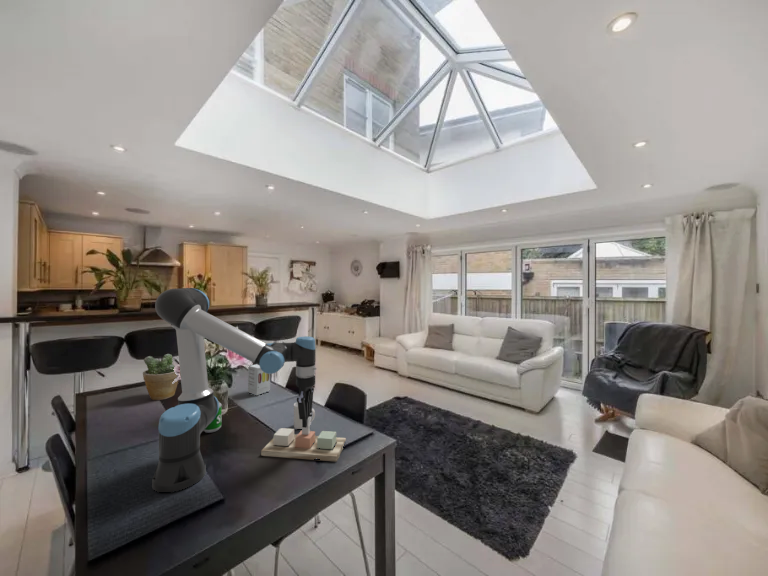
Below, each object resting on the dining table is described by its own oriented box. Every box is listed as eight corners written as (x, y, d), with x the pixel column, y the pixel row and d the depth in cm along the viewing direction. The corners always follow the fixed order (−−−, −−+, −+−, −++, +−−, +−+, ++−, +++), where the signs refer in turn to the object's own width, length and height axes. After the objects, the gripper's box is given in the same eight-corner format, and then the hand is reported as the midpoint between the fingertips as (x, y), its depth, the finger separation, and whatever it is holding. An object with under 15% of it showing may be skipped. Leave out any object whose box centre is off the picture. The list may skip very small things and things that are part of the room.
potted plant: (162, 390, 191) (162, 350, 191) (189, 392, 188) (189, 351, 188) (134, 401, 173) (134, 357, 173) (163, 403, 170) (163, 358, 170)
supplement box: (256, 396, 182) (256, 368, 181) (247, 393, 187) (247, 365, 186) (270, 392, 190) (270, 364, 189) (261, 389, 195) (261, 362, 195)
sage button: (332, 449, 120) (332, 439, 120) (317, 448, 121) (317, 438, 120) (336, 441, 126) (336, 431, 126) (322, 440, 126) (322, 430, 126)
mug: (290, 426, 143) (290, 404, 143) (303, 420, 150) (303, 399, 150) (307, 434, 136) (307, 410, 136) (320, 428, 143) (320, 405, 142)
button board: (336, 461, 115) (336, 456, 115) (261, 455, 119) (261, 450, 119) (345, 442, 129) (345, 437, 129) (278, 437, 133) (278, 433, 133)
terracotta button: (309, 448, 121) (309, 438, 121) (295, 447, 122) (295, 437, 122) (315, 441, 127) (315, 431, 127) (301, 440, 128) (301, 430, 128)
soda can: (213, 434, 136) (213, 407, 135) (198, 432, 137) (198, 405, 137) (225, 426, 143) (225, 401, 143) (211, 425, 144) (211, 399, 144)
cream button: (288, 446, 122) (288, 435, 122) (273, 444, 123) (273, 434, 123) (294, 438, 128) (294, 428, 128) (280, 437, 129) (280, 428, 129)
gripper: (308, 380, 117) (308, 442, 117) (320, 371, 130) (320, 426, 130) (290, 380, 118) (290, 441, 118) (303, 370, 131) (303, 425, 131)
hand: (305, 433), depth 124 cm, fingers closed
